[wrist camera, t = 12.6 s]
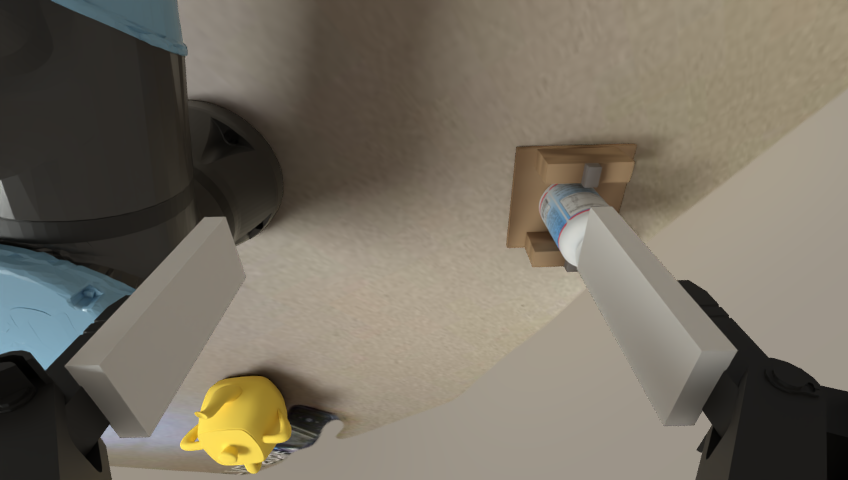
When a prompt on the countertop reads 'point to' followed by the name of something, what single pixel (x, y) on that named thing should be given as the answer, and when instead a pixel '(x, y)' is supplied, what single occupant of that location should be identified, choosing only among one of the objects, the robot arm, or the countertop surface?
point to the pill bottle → (568, 215)
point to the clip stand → (561, 165)
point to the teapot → (240, 422)
